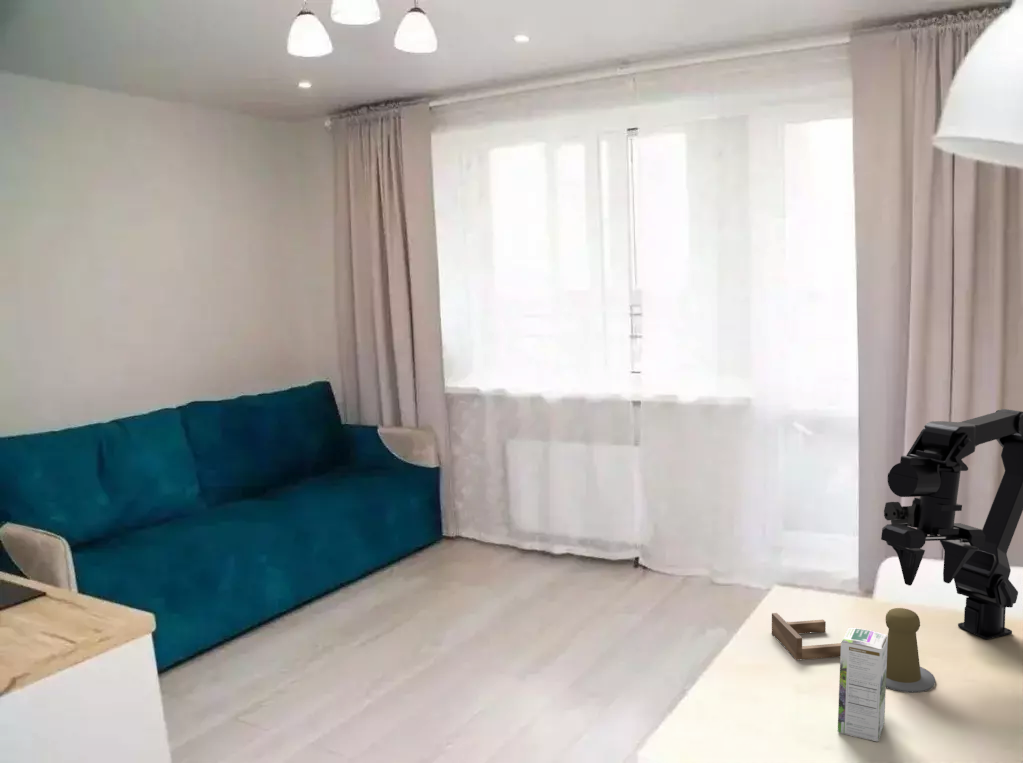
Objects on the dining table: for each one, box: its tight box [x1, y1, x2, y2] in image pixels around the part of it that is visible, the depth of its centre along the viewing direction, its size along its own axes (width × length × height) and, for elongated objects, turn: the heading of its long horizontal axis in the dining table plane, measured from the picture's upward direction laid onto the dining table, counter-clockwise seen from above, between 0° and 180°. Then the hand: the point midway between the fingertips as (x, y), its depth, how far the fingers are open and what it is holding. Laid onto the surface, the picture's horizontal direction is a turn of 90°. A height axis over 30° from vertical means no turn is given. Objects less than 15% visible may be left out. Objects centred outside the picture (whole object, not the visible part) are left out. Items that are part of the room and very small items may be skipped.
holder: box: [771, 612, 841, 661], centre depth 156 cm, size 10×11×4 cm
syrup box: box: [837, 627, 888, 742], centre depth 127 cm, size 6×6×14 cm
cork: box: [885, 607, 921, 683], centre depth 143 cm, size 6×6×11 cm
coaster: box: [886, 666, 936, 693], centre depth 143 cm, size 10×10×1 cm
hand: (927, 583), depth 150 cm, fingers open, 9 cm apart
